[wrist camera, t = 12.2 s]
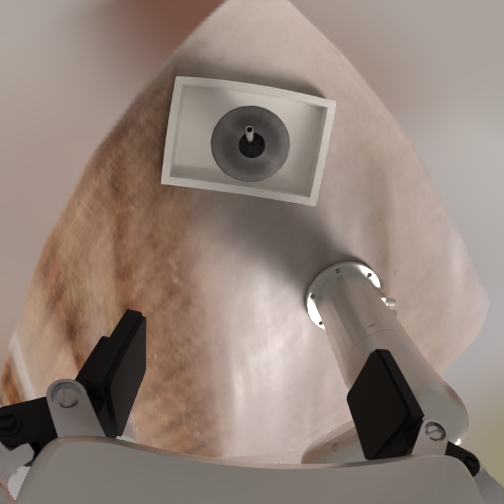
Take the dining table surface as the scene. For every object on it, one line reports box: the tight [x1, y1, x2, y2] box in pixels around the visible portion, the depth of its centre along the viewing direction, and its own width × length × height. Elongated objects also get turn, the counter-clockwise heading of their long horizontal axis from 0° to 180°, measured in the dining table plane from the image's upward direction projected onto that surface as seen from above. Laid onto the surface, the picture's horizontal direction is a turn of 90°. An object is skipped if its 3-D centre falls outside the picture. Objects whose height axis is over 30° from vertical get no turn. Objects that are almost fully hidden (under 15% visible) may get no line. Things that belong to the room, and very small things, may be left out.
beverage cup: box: [211, 105, 290, 182], centre depth 27 cm, size 7×7×20 cm
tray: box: [161, 76, 336, 207], centre depth 36 cm, size 20×14×3 cm
